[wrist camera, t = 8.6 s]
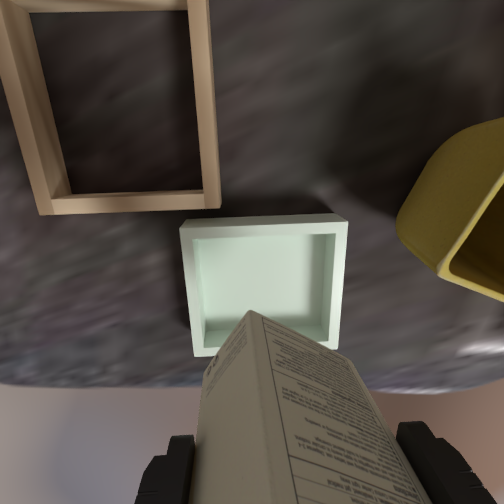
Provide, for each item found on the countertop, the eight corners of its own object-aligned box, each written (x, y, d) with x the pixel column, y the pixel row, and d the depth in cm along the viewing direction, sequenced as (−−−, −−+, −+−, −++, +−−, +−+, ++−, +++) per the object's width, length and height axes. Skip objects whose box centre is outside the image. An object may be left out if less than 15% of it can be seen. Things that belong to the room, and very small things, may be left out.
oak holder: (207, -11, 17) (203, -37, 15) (221, 202, 22) (219, 208, 19) (6, -8, 17) (-31, -34, 15) (61, 208, 21) (39, 215, 19)
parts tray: (334, 213, 22) (348, 221, 20) (327, 328, 26) (337, 349, 23) (186, 219, 22) (179, 228, 19) (199, 335, 26) (194, 356, 23)
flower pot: (450, 266, 24) (563, 327, 16) (363, 231, 23) (435, 276, 15) (516, 167, 22) (692, 177, 13) (422, 120, 20) (552, 97, 12)
